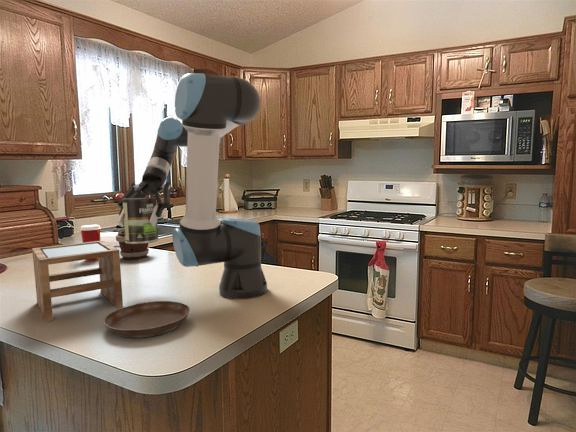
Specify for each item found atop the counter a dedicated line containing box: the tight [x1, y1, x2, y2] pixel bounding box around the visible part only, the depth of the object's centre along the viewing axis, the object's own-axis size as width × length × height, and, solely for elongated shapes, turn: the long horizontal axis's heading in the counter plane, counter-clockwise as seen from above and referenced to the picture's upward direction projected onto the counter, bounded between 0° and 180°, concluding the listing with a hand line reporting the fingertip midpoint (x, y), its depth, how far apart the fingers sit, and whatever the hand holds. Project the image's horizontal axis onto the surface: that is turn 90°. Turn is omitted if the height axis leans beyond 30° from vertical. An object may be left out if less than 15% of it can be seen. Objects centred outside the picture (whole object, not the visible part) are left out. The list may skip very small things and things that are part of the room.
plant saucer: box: [103, 300, 190, 339], centre depth 106 cm, size 21×21×3 cm
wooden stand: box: [31, 241, 124, 322], centre depth 122 cm, size 20×20×16 cm
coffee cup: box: [79, 224, 102, 262], centre depth 181 cm, size 8×8×15 cm
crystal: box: [100, 231, 120, 248], centre depth 213 cm, size 7×7×24 cm
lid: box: [42, 243, 107, 258], centre depth 121 cm, size 15×15×1 cm
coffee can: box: [122, 196, 159, 244], centre depth 134 cm, size 10×10×14 cm
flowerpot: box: [116, 228, 150, 260], centre depth 184 cm, size 14×15×20 cm
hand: (136, 224), depth 131 cm, fingers closed on coffee can, 10 cm apart
